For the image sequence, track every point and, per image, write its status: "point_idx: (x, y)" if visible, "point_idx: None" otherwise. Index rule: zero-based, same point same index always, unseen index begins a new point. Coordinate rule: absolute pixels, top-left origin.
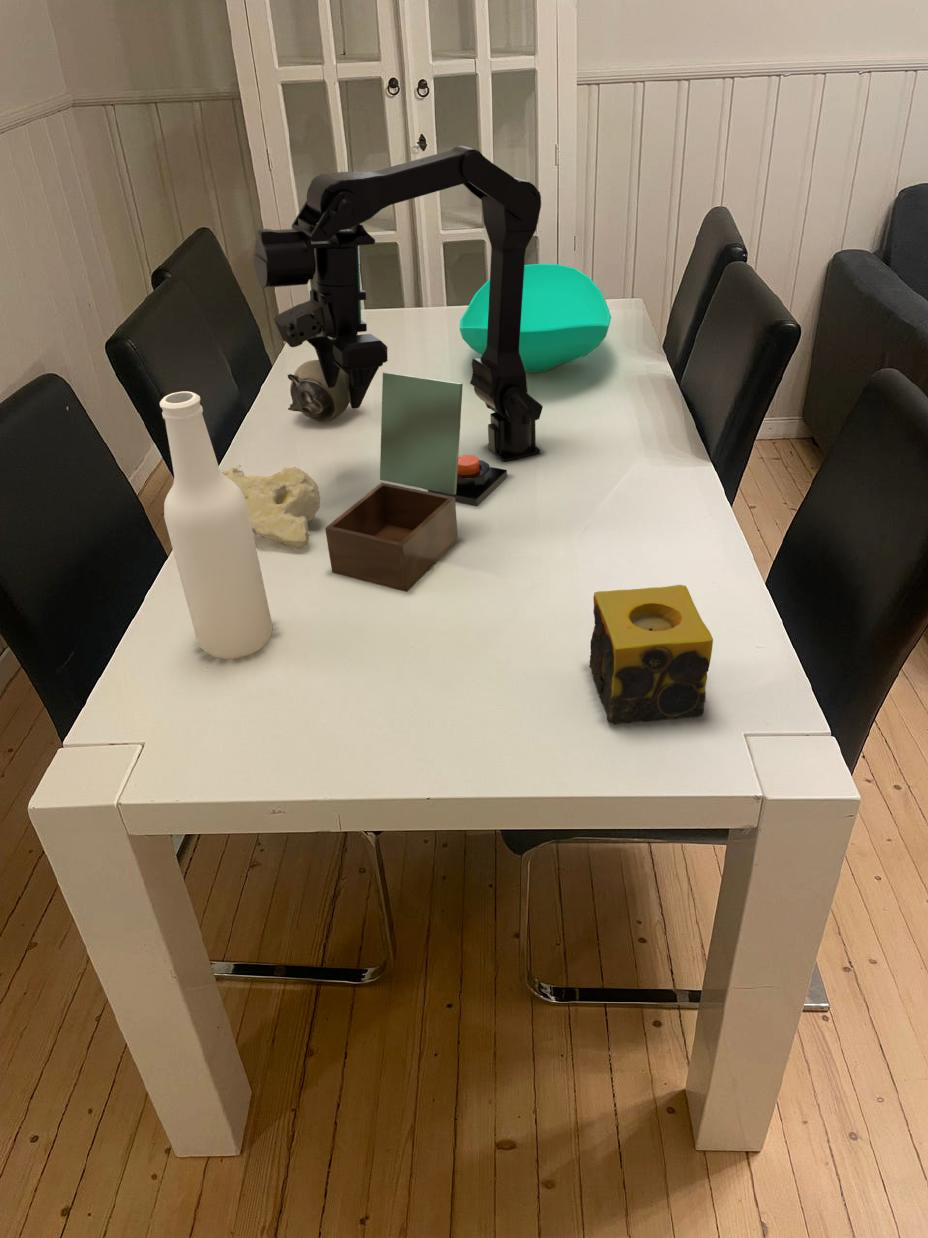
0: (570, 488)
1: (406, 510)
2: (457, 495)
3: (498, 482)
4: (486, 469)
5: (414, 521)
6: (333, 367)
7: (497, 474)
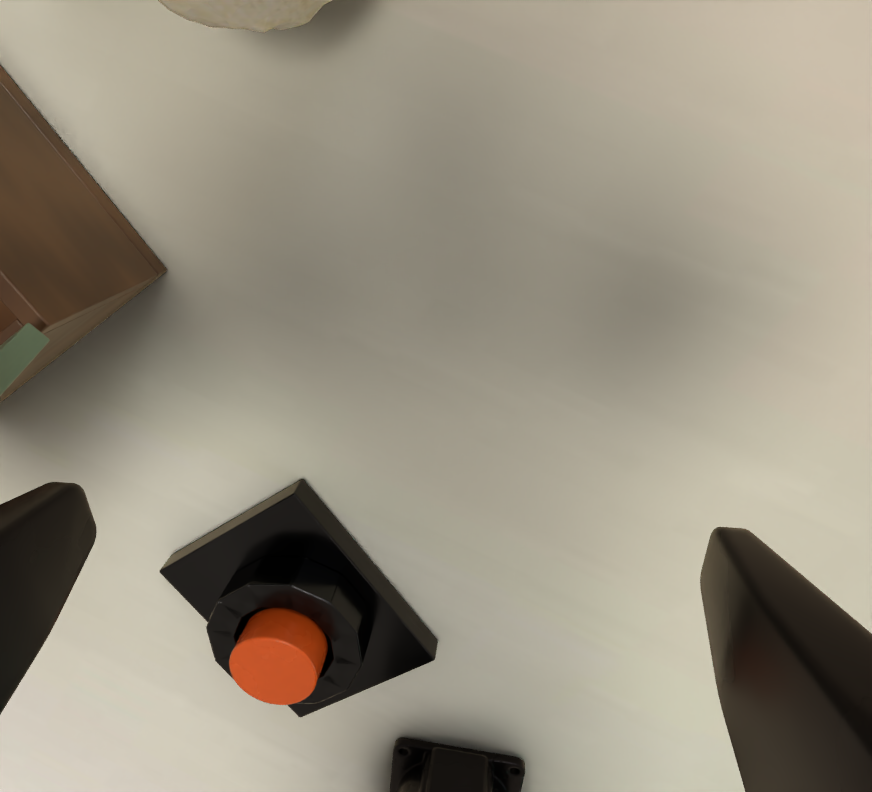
0: (171, 760)
1: None
2: (209, 543)
3: None
4: None
5: None
6: (776, 779)
7: None
